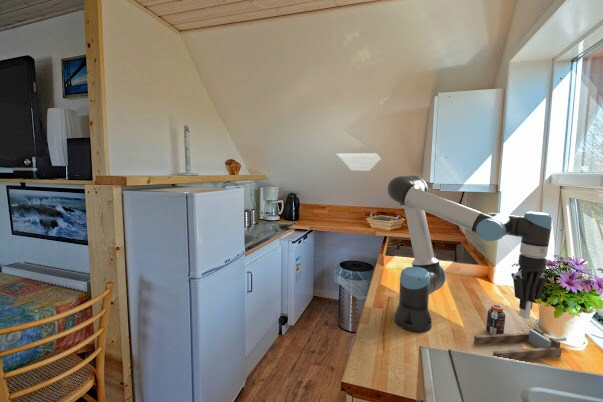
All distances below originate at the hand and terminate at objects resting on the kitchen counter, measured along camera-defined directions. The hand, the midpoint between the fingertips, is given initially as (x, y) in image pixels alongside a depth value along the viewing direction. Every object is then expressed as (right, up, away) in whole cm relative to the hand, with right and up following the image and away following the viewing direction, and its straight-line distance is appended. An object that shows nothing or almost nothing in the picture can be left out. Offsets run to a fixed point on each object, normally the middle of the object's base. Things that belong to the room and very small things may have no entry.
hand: (524, 316), depth 103 cm
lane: (-3, -12, +1) cm, 13 cm away
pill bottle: (-3, -11, +12) cm, 17 cm away
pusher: (+12, -12, +2) cm, 17 cm away
